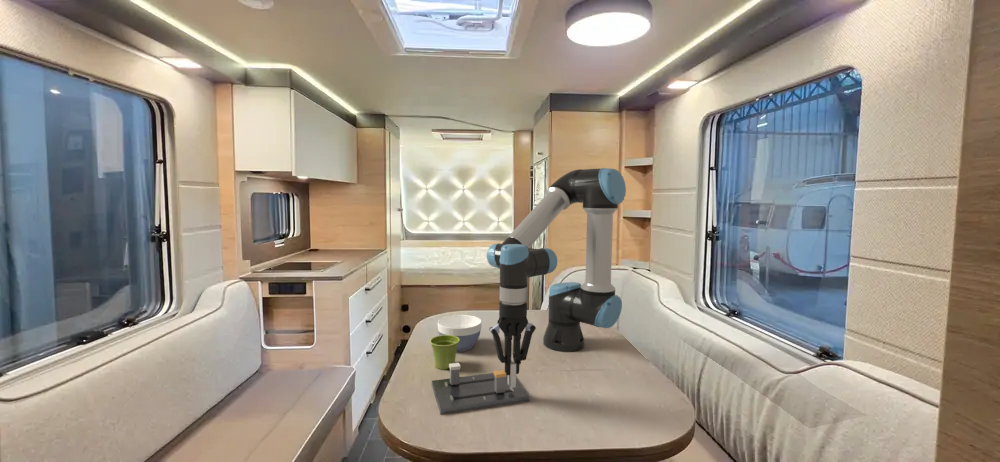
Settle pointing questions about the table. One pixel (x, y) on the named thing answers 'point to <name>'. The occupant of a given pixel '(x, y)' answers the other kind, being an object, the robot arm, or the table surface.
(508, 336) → the robot arm
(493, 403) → the console
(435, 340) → the plant pot
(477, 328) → the bowl
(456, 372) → the fader white
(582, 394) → the table surface
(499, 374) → the fader orange
